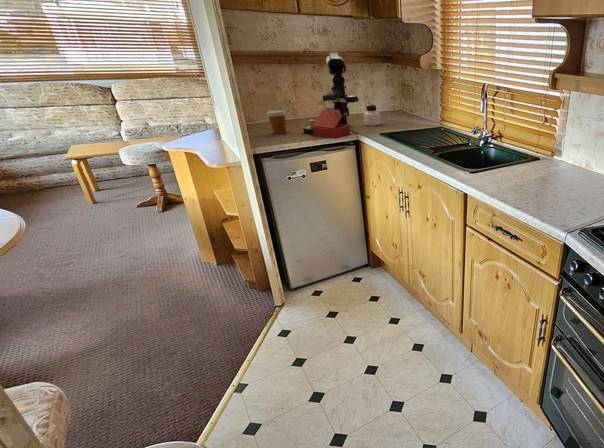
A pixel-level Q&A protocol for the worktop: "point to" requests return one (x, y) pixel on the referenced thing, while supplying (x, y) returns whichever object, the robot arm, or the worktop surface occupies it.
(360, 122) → the worktop surface
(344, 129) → the red cabinet box
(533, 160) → the worktop surface
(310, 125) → the valve knob
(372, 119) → the medicine bottle
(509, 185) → the worktop surface
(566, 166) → the worktop surface
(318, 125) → the cabinet lid
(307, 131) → the valve panel
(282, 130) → the disposable coffee cup
